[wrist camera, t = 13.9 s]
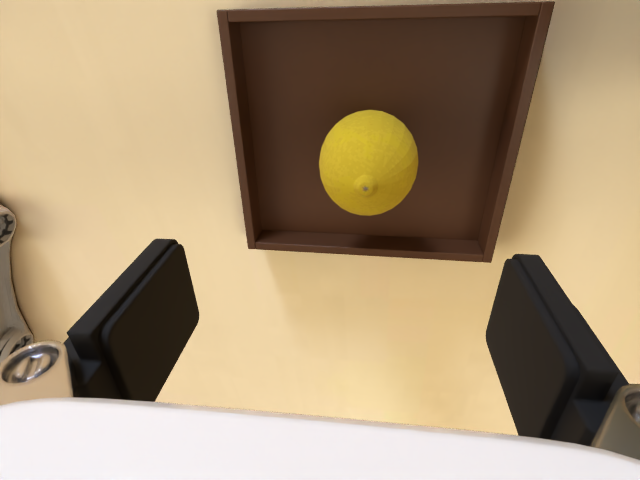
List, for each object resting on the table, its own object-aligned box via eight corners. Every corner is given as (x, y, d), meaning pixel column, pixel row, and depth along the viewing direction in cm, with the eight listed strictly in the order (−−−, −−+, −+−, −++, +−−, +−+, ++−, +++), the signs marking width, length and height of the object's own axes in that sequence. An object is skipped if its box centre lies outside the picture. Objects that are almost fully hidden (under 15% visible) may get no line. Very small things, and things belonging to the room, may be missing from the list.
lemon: (427, 113, 24) (445, 153, 17) (394, 191, 27) (398, 252, 20) (342, 86, 24) (326, 115, 17) (318, 167, 27) (296, 220, 20)
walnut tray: (257, 232, 31) (247, 249, 29) (231, 10, 23) (216, 9, 21) (483, 244, 28) (491, 262, 26) (537, 2, 21) (555, 1, 19)
